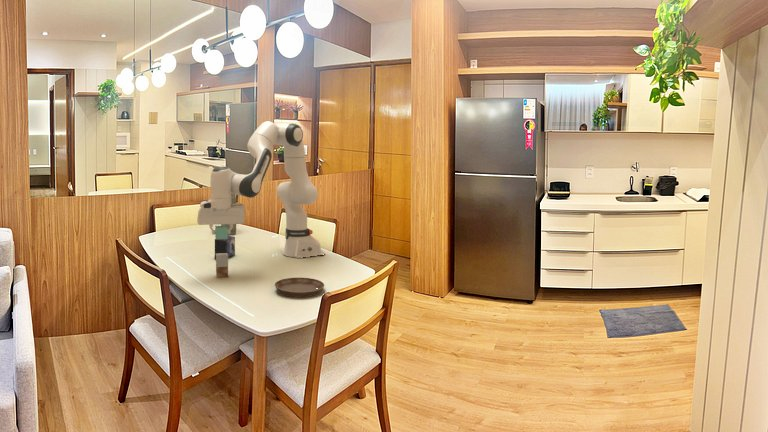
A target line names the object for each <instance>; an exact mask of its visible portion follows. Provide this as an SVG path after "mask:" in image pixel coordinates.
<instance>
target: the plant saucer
mask: <svg viewBox="0 0 768 432" xmlns="http://www.w3.org/2000/svg"><path fill="white" fill-rule="evenodd" d="M274 287H275V289H276V290H277V291H278V292H279V293H280V294H282V295H283V296H287V297H291V298H306V297H307V296H308V297H313V296H315V294H316V295H318V294H319V293H320V292H321V291H323V289H324V287H325V283H324V282H322V281H321V280H319V279H315V278H310V277H287V278H282V279H280V280H277V281H276V282H275V283H274ZM316 288H318V289H316ZM317 293H318V294H317ZM312 295H313V296H312ZM308 297H307V298H308Z"/></svg>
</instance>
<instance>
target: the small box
mask: <svg viewBox="0 0 768 432" xmlns="http://www.w3.org/2000/svg"><path fill="white" fill-rule="evenodd" d="M227 238H228V239H216V238H215V239H214V260H216V254H218V253H228V259H231V258H233V257H234V256H235V257H236V236H234V235H231V236H227Z"/></svg>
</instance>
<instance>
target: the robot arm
mask: <svg viewBox="0 0 768 432" xmlns="http://www.w3.org/2000/svg"><path fill="white" fill-rule="evenodd" d="M303 137H304V131H303V129H302V127H301V126H300V125H298V124H296V123H293V122H292V123H289V122H281V123H280V122H279V123H278V122H276V123H274V122H272V121H267V120H266V121H263V122H262V123H261V124H260V125H259V126H258V127H257V128H256V129H255V131H254V132H253V133H252V135H251V136H250V138H249V140H248V141H247V145H246V148H247V151H248V152H249V154H250V155H251V156H252V157H253V158H254V159H256V162H255V165H254V166H253V169H252V171H251V172H250V173H248V174H241V173H237V172H235V171H233V170H231V169H230V167H229V166H217V167H214V168H213V169H212V170H211V173H210V185H209V186H210V190H211V193H210V199H207V200H203V201H201V202H200V204H199V205H200V207H199V210H198V212H197V221H196V222H197V224H198V225H199V226H200V225H201V226H204V225H205V226H209V229H210V230H211V235H215V234H216V233H215V232H216V230H215V229H214V228H213V227H214V226H213V225H215V226H218V225H221V224H230V228H229V230H227V234H231V229H232V228H233V224H236V225H244V224H245V221H246V220H245V219H246V218H245V214H244V213H245V212H246V206H245V205H244V204H243V203H239V202H238V203H236V204H235V203H231V194H235V196H236V195H238V196H241V197H245V198H252V199H253V198H255V197H256V196H257V195H259V194H260V191H261V189H262V186H263V185H262V184H263V181H264V178H265V176H266V174H267V171H268V170H269V166H270V164H271V161H272V157H273V156H272V155H273V154H272V152H271V151H272V149H273V148H274V146H283V162H284V171H285V173H286V175H287V176H289V178H290V181H289V180H288V181H283V182H280V183H279V184H278V186H277V188H276V195H277V197H278V198H279V200H280V201H281V203H282V204H283V205H282V206H283V207H284V210H285V211H284V212H285V216H286V217H285V219H286V220H285V221H286V224H285V225H286V227H285V231H284V236H285V237H284V238H285V245H284V248H283V249H284V250H283V252H282V254H283V256H286V257H291V258H296V259H303V257H306V258H311V257H310V256H316V257H318V256H317V255H323V254H325V255H326V251H325V250H324V249H322V246H321V243H320V242H319V240H317V238H315V237H314V236H313V235H312V234H313V233H314V232H313V230H312V229H310V228H308V213H307V212H306V211H305V209H304V207H303V205H312V204H314V203H315V202H317V199H318V196H319V192H318V188H317V187H316V186H315V185H314V184H313V182H312V181H311V178H310V177H309V174H308V171H307V163H306V160H307V159H306V149H305V144H304V141H303ZM231 206H232V207H231Z"/></svg>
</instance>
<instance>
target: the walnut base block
mask: <svg viewBox="0 0 768 432" xmlns="http://www.w3.org/2000/svg"><path fill="white" fill-rule="evenodd" d="M215 272H216V273H215V275H216V278H217V279H218V278H219V279H221V278H229V266H228V267H216V266H215Z"/></svg>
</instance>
